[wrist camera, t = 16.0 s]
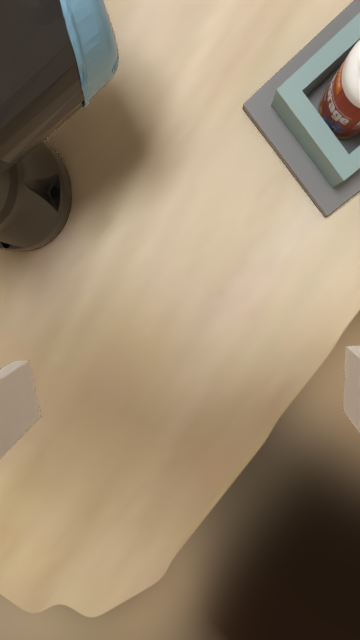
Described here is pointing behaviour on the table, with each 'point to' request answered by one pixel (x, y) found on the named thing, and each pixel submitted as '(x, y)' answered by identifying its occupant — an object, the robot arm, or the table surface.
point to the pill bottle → (343, 98)
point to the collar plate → (284, 136)
